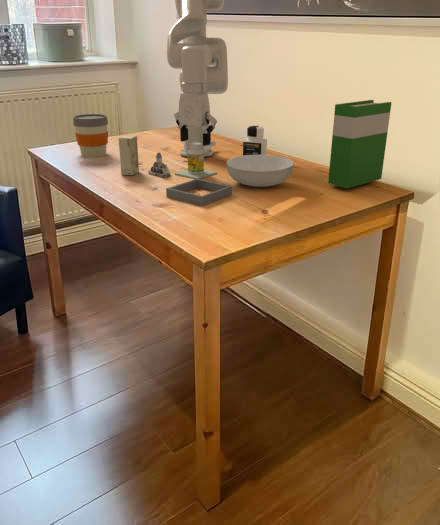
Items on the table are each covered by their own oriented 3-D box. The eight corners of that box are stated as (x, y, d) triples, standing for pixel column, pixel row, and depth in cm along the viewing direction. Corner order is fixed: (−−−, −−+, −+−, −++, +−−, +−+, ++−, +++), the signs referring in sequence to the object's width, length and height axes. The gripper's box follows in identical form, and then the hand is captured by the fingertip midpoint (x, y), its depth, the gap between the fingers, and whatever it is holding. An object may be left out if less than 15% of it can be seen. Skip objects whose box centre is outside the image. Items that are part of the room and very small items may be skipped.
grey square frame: (197, 186, 159) (197, 178, 158) (232, 194, 151) (232, 186, 150) (166, 196, 149) (166, 188, 148) (202, 205, 141) (202, 197, 140)
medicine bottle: (242, 160, 191) (243, 127, 186) (248, 156, 197) (249, 124, 192) (260, 161, 189) (261, 128, 184) (266, 157, 195) (267, 125, 190)
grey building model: (185, 174, 173) (184, 151, 170) (165, 179, 167) (164, 156, 164) (167, 170, 179) (166, 147, 176) (147, 174, 173) (146, 152, 170)
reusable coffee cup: (116, 158, 194) (112, 117, 188) (84, 162, 188) (79, 120, 181) (103, 152, 203) (99, 113, 197) (72, 155, 197) (67, 115, 191)
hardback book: (362, 174, 172) (371, 99, 163) (381, 178, 167) (391, 102, 157) (328, 183, 162) (335, 104, 152) (346, 188, 157) (355, 107, 147)
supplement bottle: (207, 172, 173) (206, 143, 169) (196, 175, 169) (196, 146, 165) (195, 169, 176) (194, 141, 172) (184, 172, 172) (183, 143, 168)
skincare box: (133, 176, 170) (130, 138, 165) (120, 175, 171) (117, 138, 166) (139, 171, 176) (137, 135, 171) (127, 170, 177) (125, 134, 172)
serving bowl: (215, 178, 167) (215, 157, 164) (272, 172, 175) (273, 152, 172) (243, 196, 150) (244, 173, 147) (305, 188, 157) (307, 166, 154)
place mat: (194, 168, 179) (194, 167, 179) (216, 173, 173) (216, 172, 173) (174, 174, 172) (174, 173, 171) (197, 179, 166) (197, 178, 166)
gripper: (166, 87, 163) (168, 141, 171) (207, 92, 154) (208, 149, 161) (182, 84, 169) (183, 137, 176) (223, 89, 159) (223, 144, 167)
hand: (195, 142), depth 169 cm, fingers open, 9 cm apart
